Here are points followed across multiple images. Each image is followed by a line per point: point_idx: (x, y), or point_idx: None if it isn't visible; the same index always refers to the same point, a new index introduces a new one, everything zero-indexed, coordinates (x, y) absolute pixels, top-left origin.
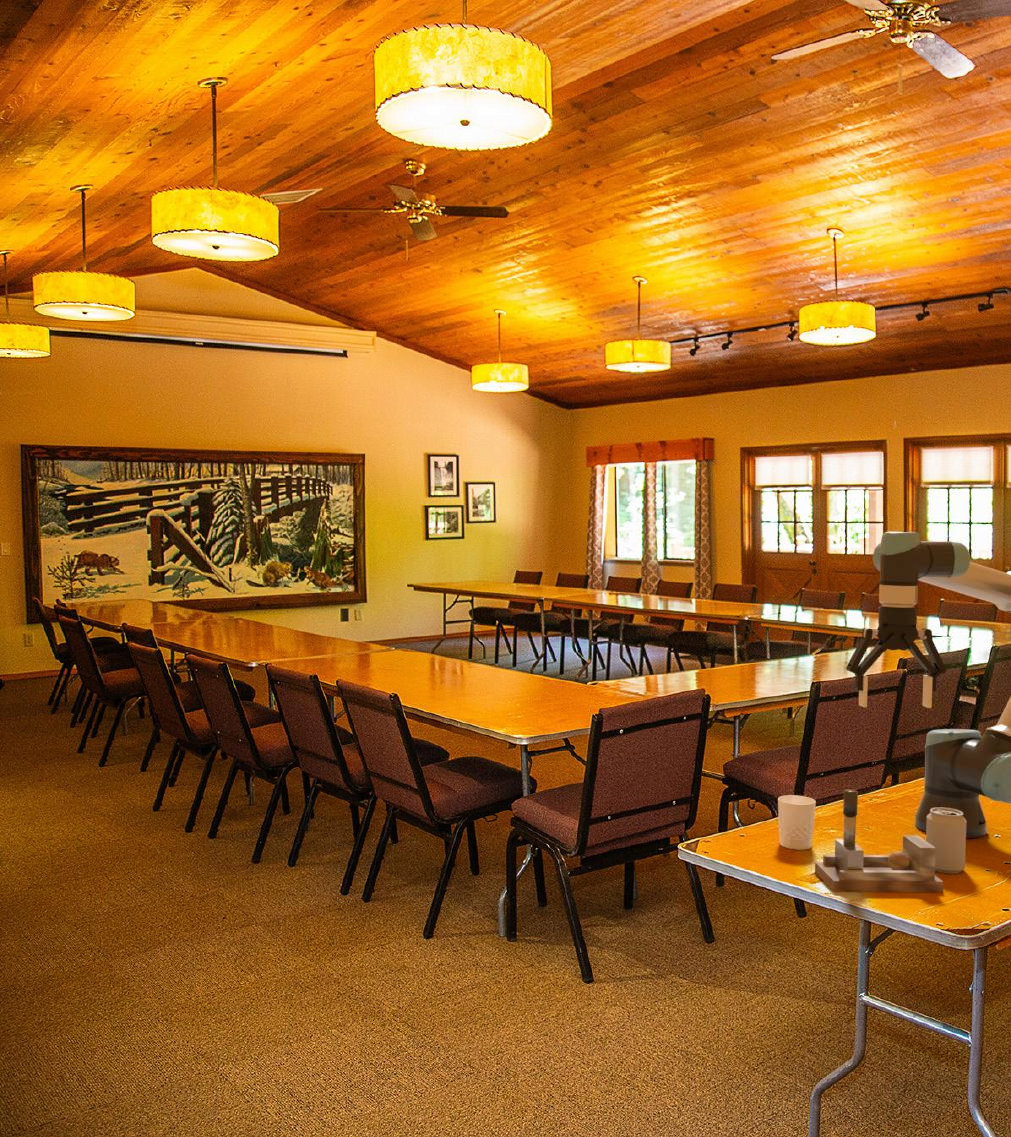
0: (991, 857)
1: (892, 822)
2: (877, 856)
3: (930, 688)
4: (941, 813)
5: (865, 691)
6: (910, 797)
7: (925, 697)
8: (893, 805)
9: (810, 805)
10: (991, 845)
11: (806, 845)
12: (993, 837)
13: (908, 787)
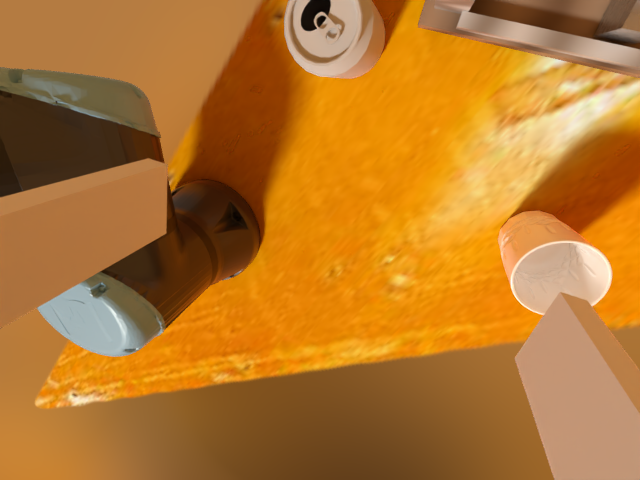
0: (231, 84)
1: (278, 281)
2: (522, 29)
3: (39, 195)
4: (335, 28)
5: (635, 387)
6: (191, 354)
7: (124, 219)
8: (231, 338)
9: (557, 239)
10: (197, 142)
11: (532, 212)
12: (174, 176)
13: (172, 383)
